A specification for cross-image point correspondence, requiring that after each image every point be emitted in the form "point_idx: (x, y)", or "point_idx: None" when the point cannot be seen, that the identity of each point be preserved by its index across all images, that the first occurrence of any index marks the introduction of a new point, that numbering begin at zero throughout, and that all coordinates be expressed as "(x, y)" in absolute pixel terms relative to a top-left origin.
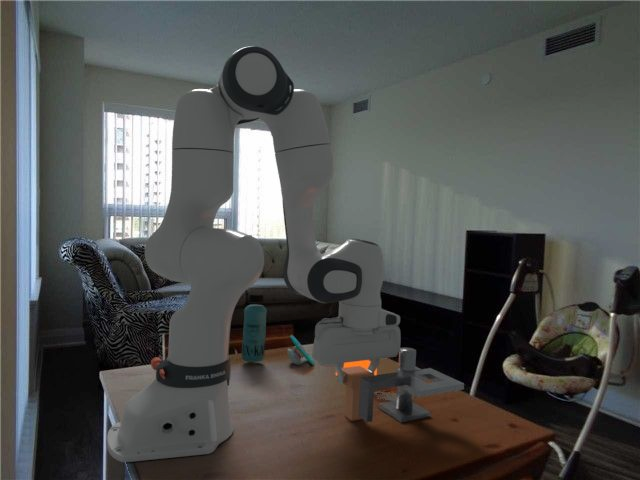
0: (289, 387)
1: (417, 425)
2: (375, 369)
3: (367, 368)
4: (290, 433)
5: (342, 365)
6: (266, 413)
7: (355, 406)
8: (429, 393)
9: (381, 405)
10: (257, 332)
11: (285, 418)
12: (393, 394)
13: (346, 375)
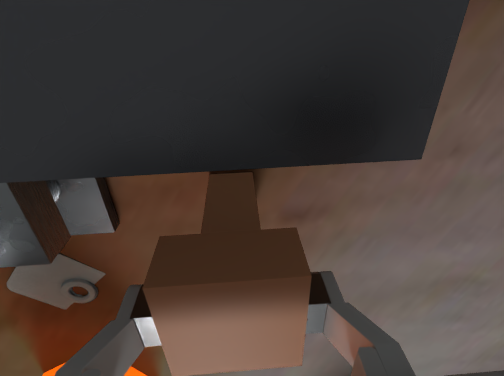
0: None
1: None
2: (105, 330)
3: None
4: (463, 157)
5: (374, 363)
6: (432, 264)
7: (242, 196)
8: None
9: (110, 219)
10: None
11: (412, 233)
12: (31, 282)
13: (312, 303)
